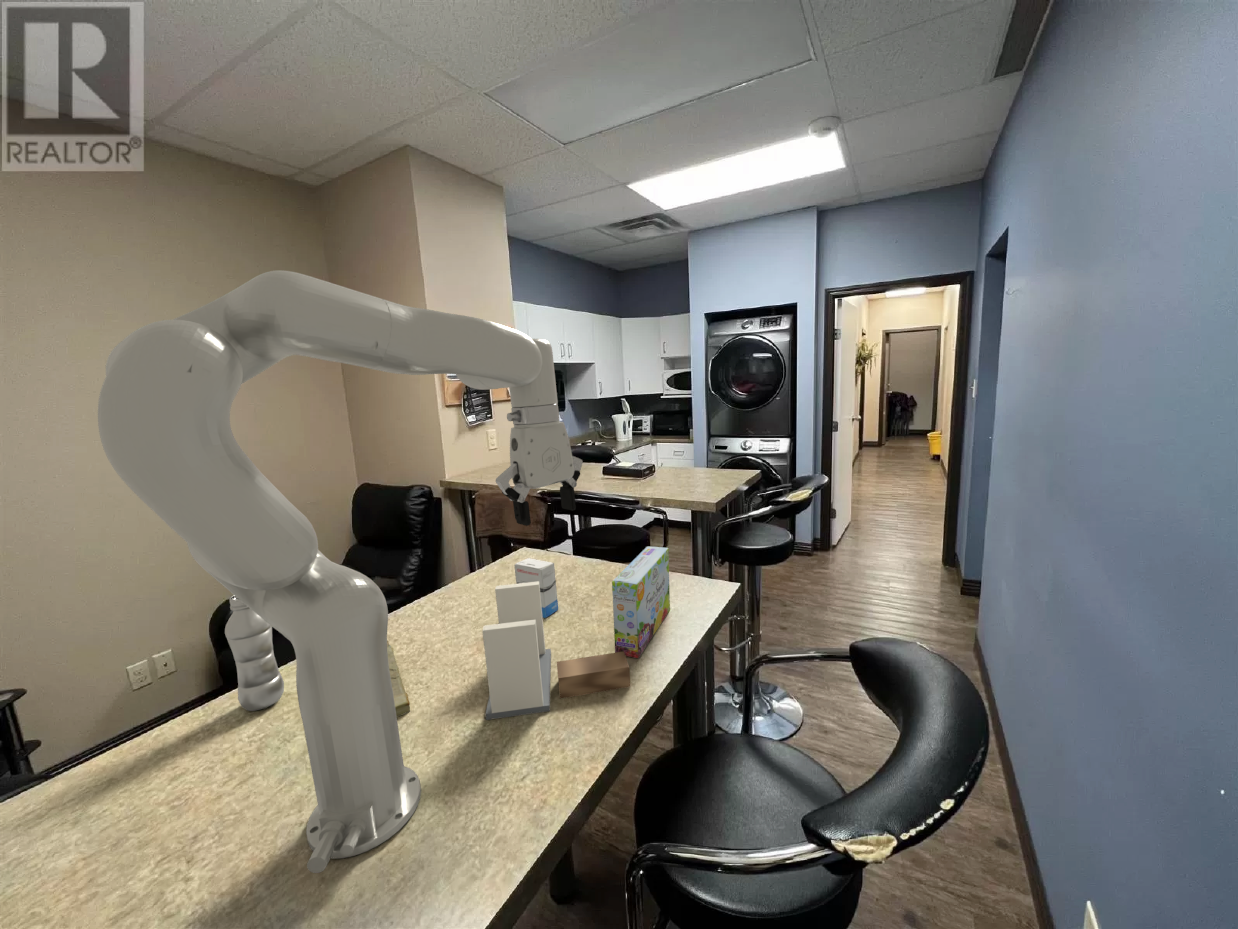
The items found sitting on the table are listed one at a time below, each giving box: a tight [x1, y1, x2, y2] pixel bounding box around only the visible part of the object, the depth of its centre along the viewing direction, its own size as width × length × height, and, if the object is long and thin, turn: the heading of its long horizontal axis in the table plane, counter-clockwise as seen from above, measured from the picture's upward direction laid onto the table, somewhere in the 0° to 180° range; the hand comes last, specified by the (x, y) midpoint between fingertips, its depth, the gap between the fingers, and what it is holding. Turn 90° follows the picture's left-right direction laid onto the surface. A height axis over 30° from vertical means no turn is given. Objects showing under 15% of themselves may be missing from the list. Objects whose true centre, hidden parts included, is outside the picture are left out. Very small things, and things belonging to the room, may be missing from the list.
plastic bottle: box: [224, 595, 285, 712], centre depth 82 cm, size 6×7×20 cm
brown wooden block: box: [556, 651, 631, 700], centre depth 83 cm, size 12×5×4 cm, turn 100°
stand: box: [482, 581, 552, 721], centre depth 83 cm, size 17×10×15 cm, turn 7°
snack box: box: [611, 545, 671, 659], centre depth 99 cm, size 21×6×15 cm, turn 158°
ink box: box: [513, 557, 559, 619], centre depth 111 cm, size 8×5×12 cm, turn 58°
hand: (547, 516), depth 82 cm, fingers open, 9 cm apart
